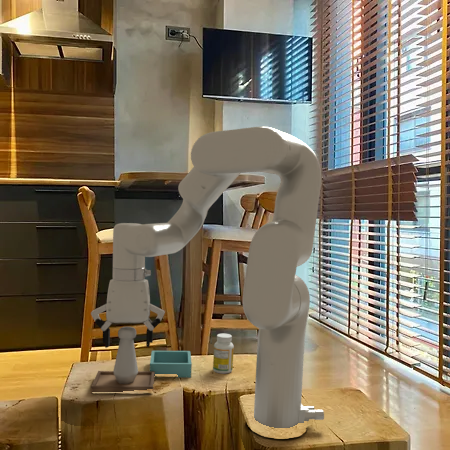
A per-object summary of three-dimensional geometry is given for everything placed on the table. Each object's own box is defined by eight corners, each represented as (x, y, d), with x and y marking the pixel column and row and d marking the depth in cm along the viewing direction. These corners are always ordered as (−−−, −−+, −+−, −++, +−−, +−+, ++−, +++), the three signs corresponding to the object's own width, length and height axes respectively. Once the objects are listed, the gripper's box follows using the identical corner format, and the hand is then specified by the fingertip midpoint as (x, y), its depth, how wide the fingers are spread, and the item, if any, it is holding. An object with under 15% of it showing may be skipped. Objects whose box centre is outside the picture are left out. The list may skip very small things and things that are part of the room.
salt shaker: (134, 386, 114) (136, 331, 114) (110, 385, 114) (112, 330, 114) (139, 377, 120) (141, 325, 119) (116, 376, 120) (118, 324, 120)
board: (154, 378, 123) (154, 371, 123) (152, 394, 113) (152, 386, 113) (98, 377, 122) (98, 370, 122) (91, 394, 112) (91, 386, 112)
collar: (189, 363, 135) (190, 351, 135) (191, 377, 125) (191, 364, 125) (151, 363, 134) (151, 350, 134) (149, 377, 124) (149, 363, 123)
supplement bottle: (222, 375, 127) (223, 339, 127) (208, 369, 131) (210, 334, 131) (236, 371, 131) (238, 336, 130) (223, 365, 135) (224, 331, 134)
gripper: (165, 272, 120) (164, 341, 121) (94, 272, 119) (93, 341, 119) (164, 277, 113) (163, 350, 114) (88, 277, 111) (88, 351, 112)
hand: (127, 345), depth 117 cm, fingers open, 9 cm apart
